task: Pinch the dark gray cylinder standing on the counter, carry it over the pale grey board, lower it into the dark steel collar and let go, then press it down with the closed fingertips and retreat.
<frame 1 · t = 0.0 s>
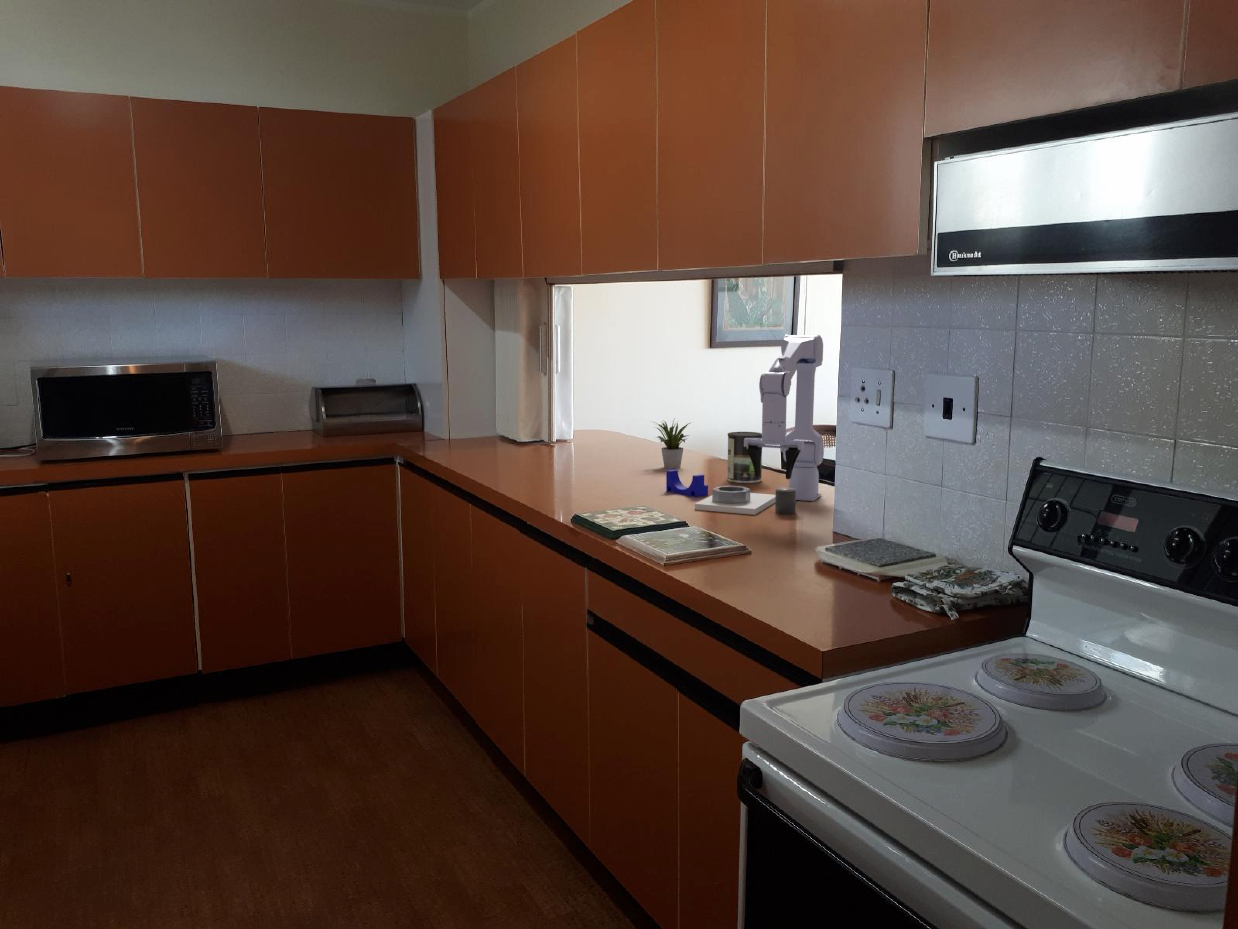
hand: (773, 477, 241), 10 cm above the worktop, fingers open, 7 cm apart
blue u-shaped cradle block: (686, 494, 275), on the worktop
house plant: (668, 468, 320), on the worktop
socket board: (737, 504, 259), on the worktop
dark gray cylinder: (785, 512, 249), on the worktop
coffee can: (744, 481, 295), on the worktop
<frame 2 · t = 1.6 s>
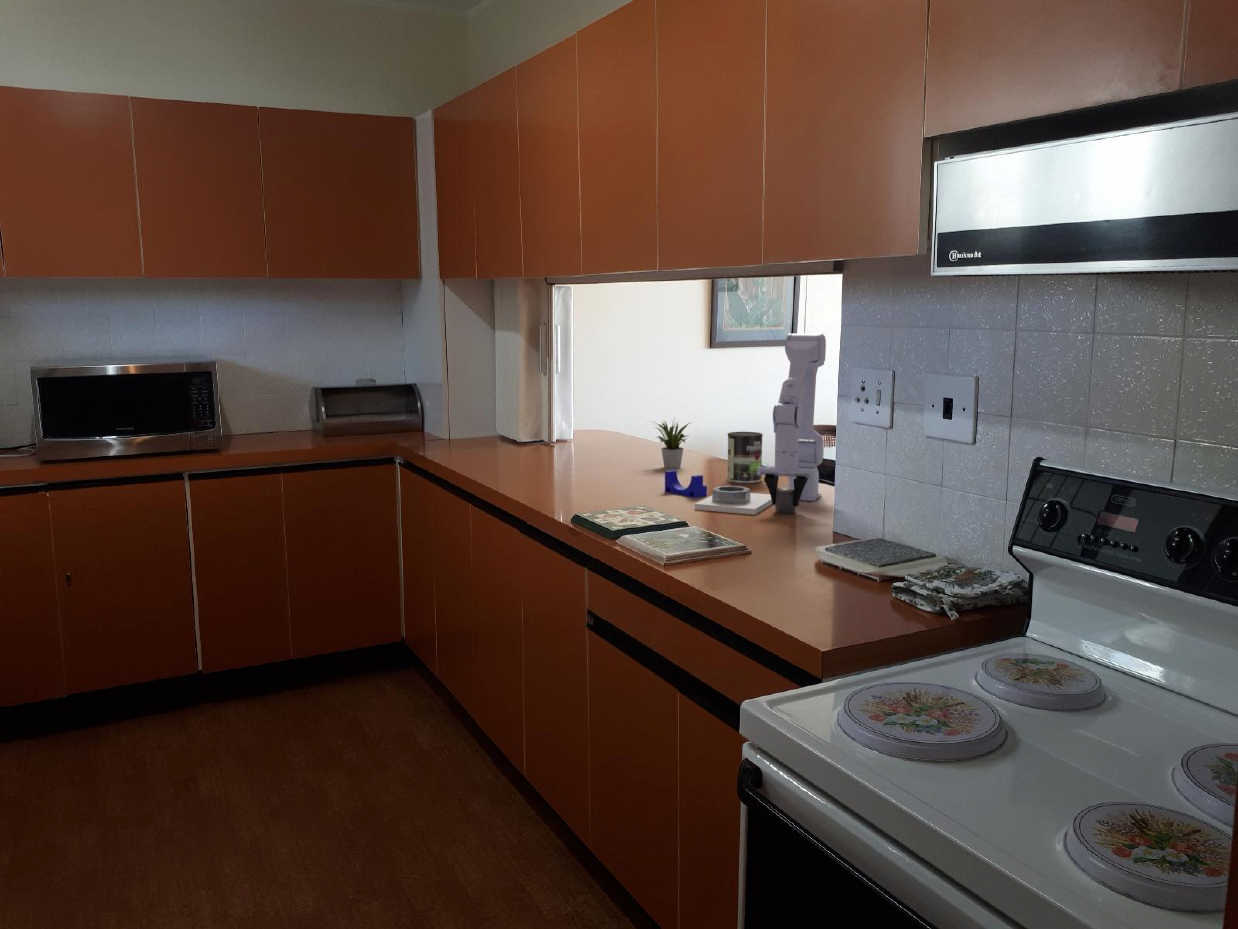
hand: (785, 504, 249), 2 cm above the worktop, fingers closed on dark gray cylinder, 5 cm apart
dark gray cylinder: (785, 512, 249), on the worktop, touching gripper
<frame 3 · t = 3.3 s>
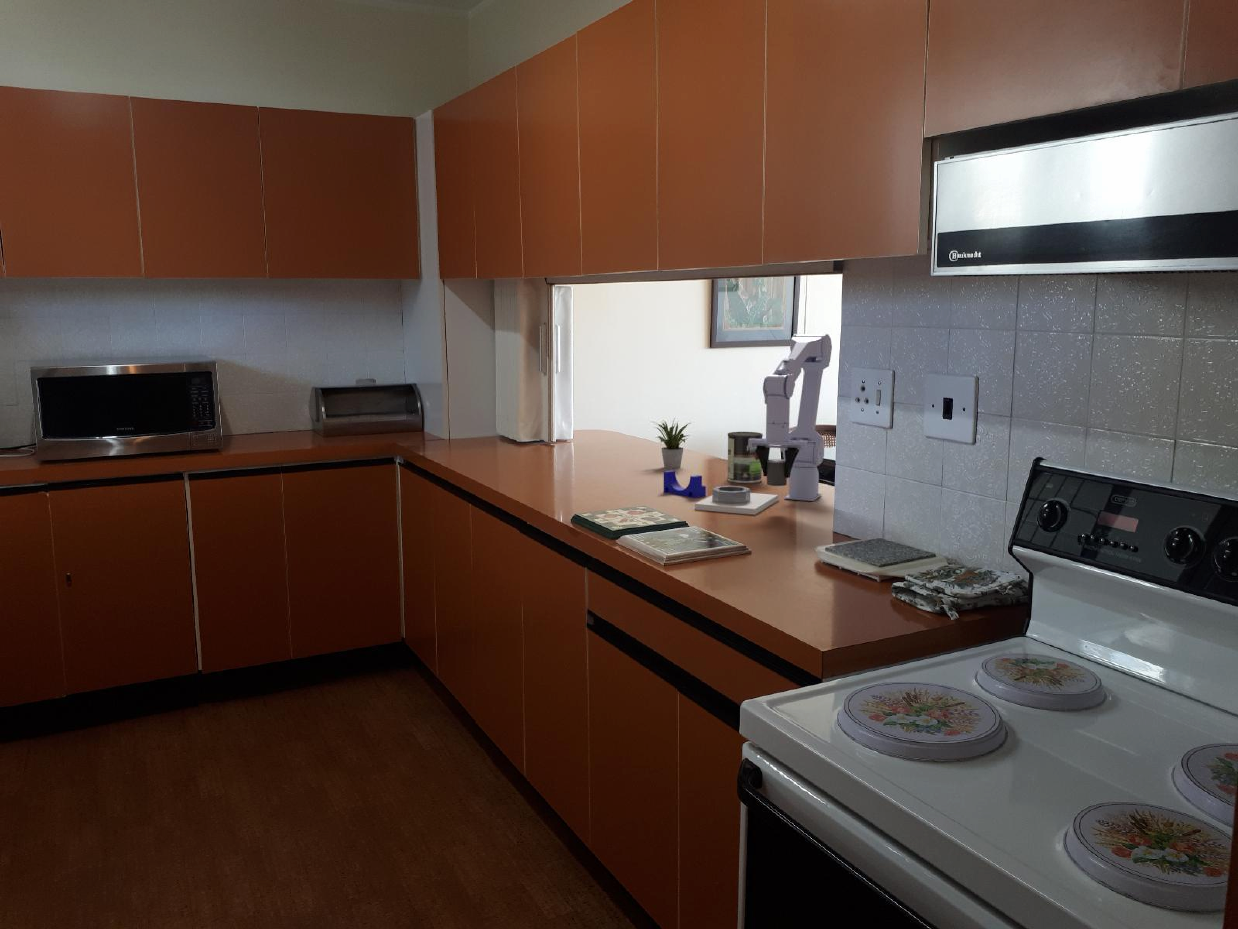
hand: (776, 476, 249), 9 cm above the worktop, fingers closed on dark gray cylinder, 5 cm apart
dark gray cylinder: (776, 484, 250), point 7 cm above the worktop, touching gripper
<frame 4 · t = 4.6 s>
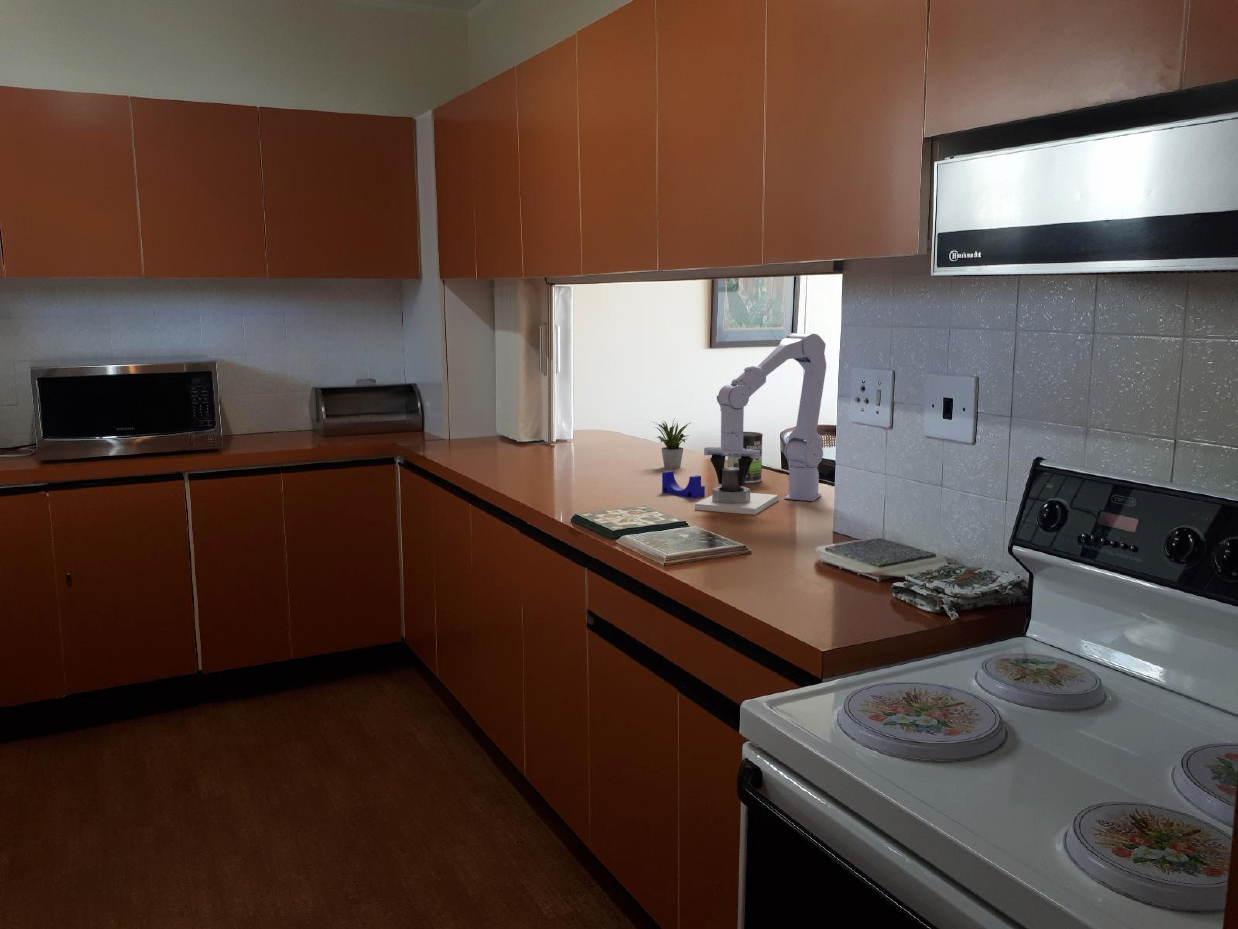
hand: (731, 484, 257), 6 cm above the worktop, fingers closed on dark gray cylinder, 5 cm apart
dark gray cylinder: (731, 491, 257), point 4 cm above the worktop, touching gripper
when the fingers open (5 cm above the worktop, at t = 5.2 s): dark gray cylinder drops 2 cm, resting on socket board.
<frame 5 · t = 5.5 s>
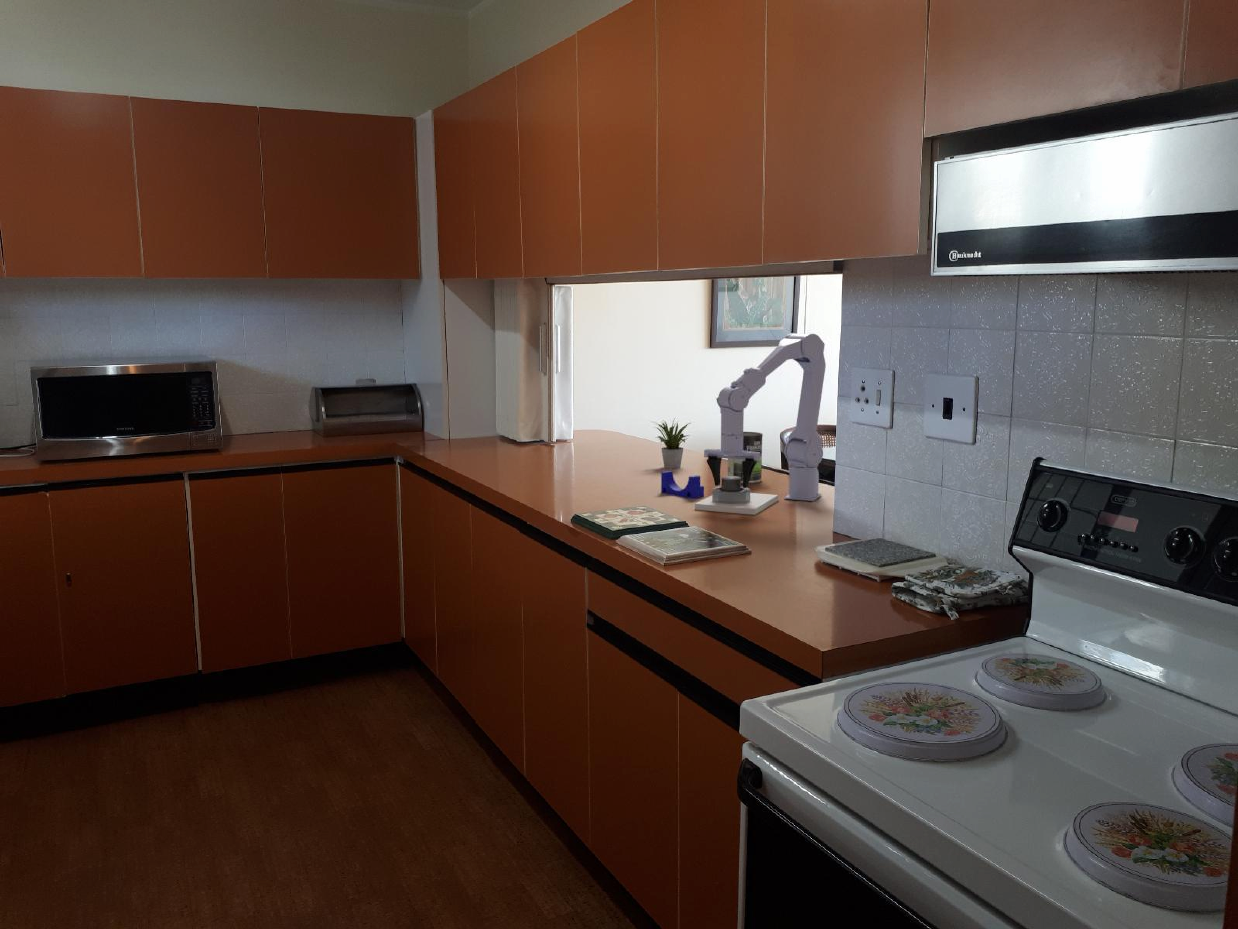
hand: (731, 486, 257), 5 cm above the worktop, fingers open, 7 cm apart
dark gray cylinder: (730, 500, 257), point 1 cm above the worktop, touching socket board
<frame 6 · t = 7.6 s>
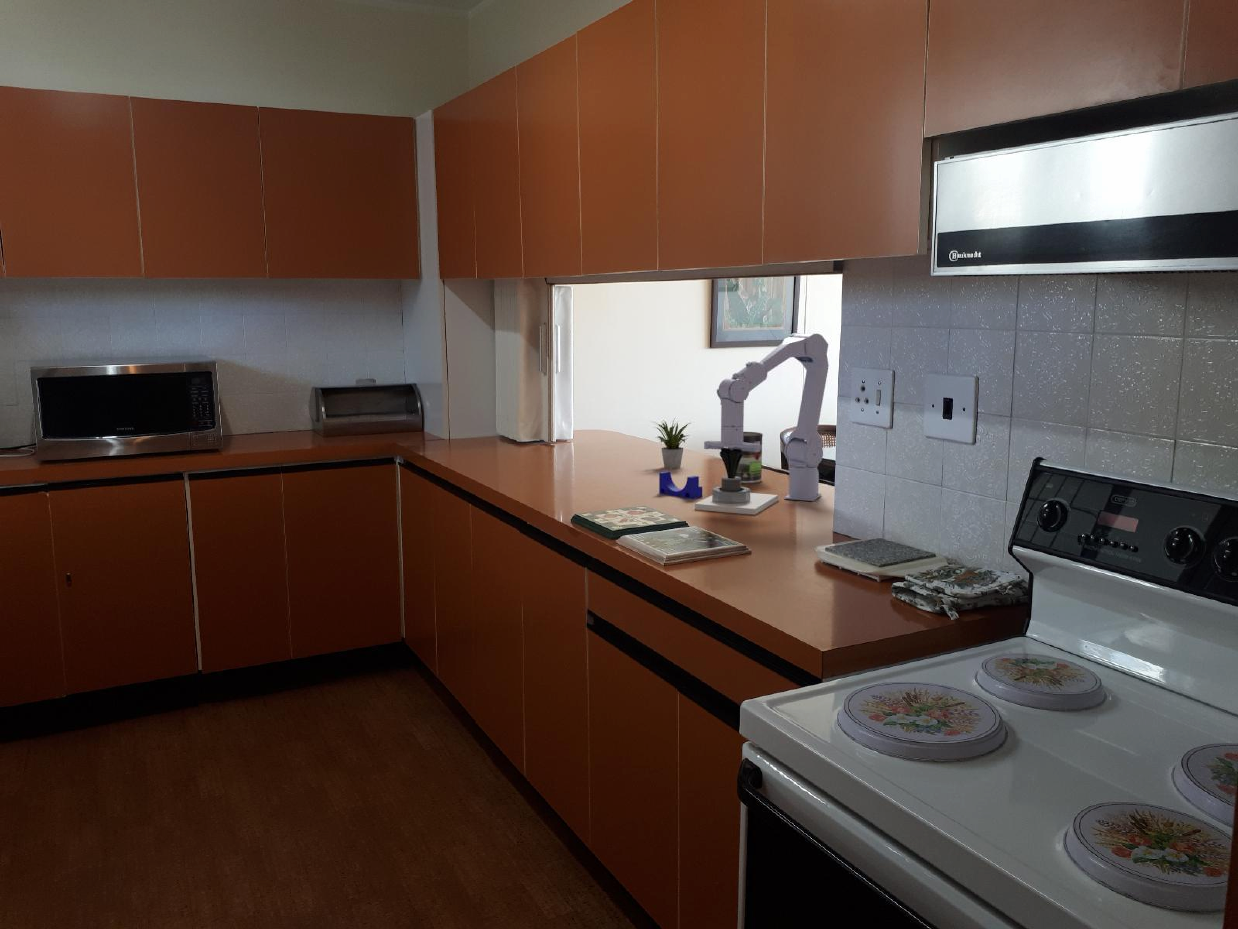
hand: (731, 478, 256), 7 cm above the worktop, fingers closed, pressing on dark gray cylinder
dark gray cylinder: (730, 500, 257), point 1 cm above the worktop, touching gripper, socket board
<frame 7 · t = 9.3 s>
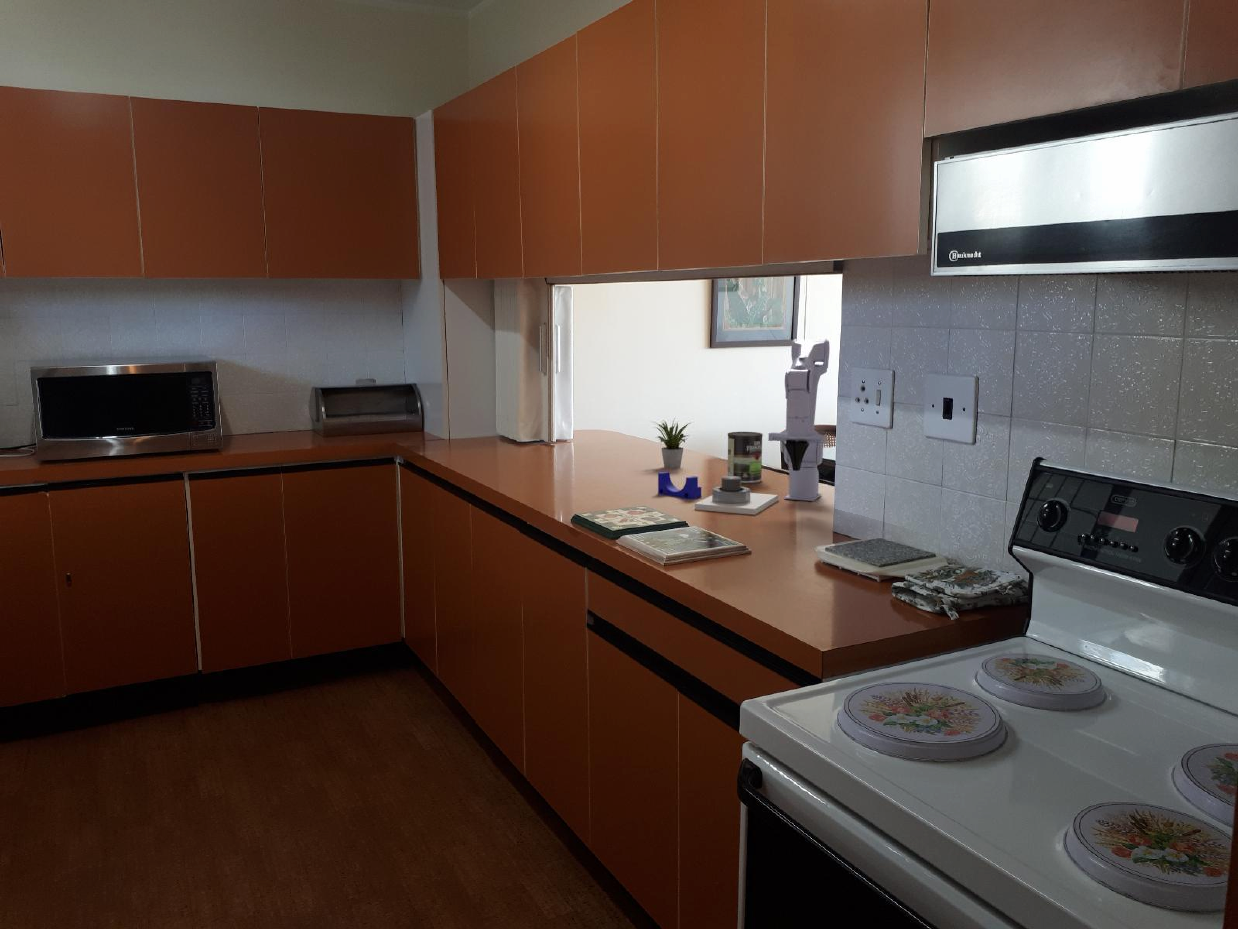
hand: (796, 470, 253), 10 cm above the worktop, fingers closed
dark gray cylinder: (730, 500, 257), point 1 cm above the worktop, touching socket board
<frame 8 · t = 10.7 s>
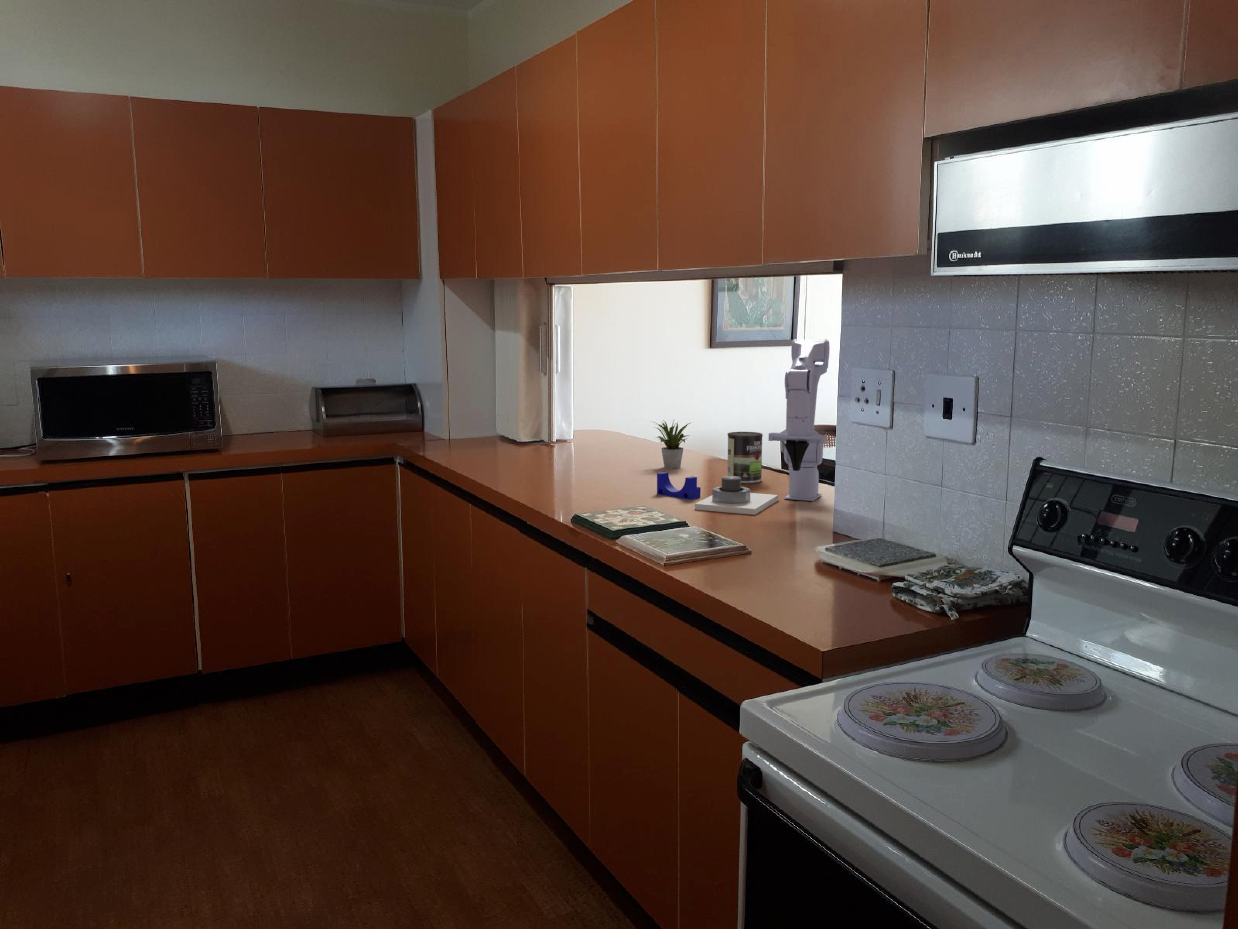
hand: (796, 470, 253), 10 cm above the worktop, fingers closed
at the end: dark gray cylinder 0.1 cm from the target spot on the socket board, point 1.5 cm above the socket board's base; dark gray cylinder tilted 0°; the gripper is holding nothing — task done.
